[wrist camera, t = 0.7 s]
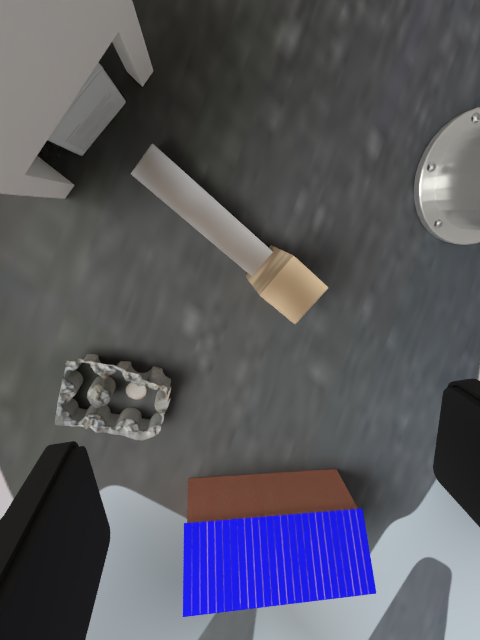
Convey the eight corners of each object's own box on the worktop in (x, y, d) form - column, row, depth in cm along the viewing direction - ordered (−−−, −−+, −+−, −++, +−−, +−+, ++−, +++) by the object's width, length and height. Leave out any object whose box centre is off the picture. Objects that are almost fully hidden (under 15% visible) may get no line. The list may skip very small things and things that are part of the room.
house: (326, 532, 47) (366, 630, 36) (186, 545, 44) (183, 655, 33) (338, 465, 43) (386, 552, 32) (185, 475, 41) (182, 573, 30)
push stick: (159, 143, 29) (146, 120, 21) (298, 270, 34) (328, 287, 26) (132, 181, 29) (110, 171, 22) (273, 299, 34) (295, 324, 27)
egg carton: (178, 369, 36) (176, 388, 32) (159, 425, 38) (156, 449, 34) (76, 343, 34) (61, 361, 30) (62, 405, 35) (46, 429, 32)
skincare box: (128, 102, 27) (105, 66, 20) (81, 158, 28) (45, 141, 21) (65, 36, 25) (16, -29, 18) (17, 97, 26) (-46, 58, 19)
